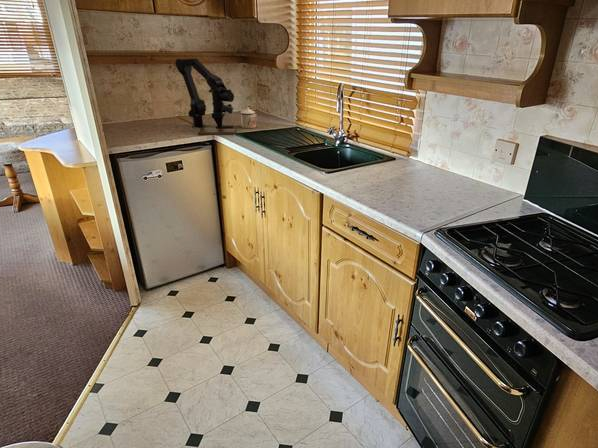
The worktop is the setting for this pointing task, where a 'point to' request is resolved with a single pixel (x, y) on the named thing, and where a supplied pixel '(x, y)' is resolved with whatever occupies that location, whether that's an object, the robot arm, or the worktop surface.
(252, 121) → the teacup with lid
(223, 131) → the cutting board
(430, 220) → the worktop surface
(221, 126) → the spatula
